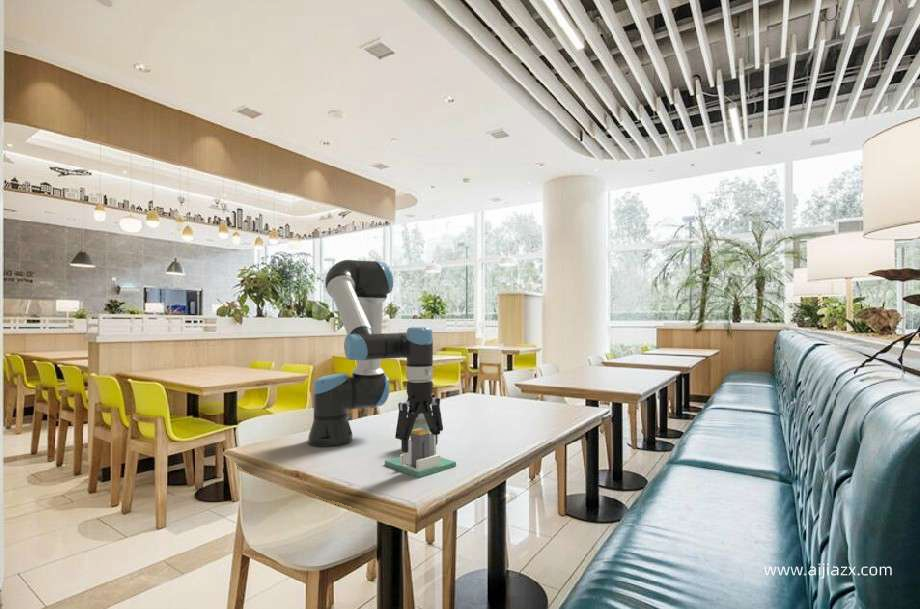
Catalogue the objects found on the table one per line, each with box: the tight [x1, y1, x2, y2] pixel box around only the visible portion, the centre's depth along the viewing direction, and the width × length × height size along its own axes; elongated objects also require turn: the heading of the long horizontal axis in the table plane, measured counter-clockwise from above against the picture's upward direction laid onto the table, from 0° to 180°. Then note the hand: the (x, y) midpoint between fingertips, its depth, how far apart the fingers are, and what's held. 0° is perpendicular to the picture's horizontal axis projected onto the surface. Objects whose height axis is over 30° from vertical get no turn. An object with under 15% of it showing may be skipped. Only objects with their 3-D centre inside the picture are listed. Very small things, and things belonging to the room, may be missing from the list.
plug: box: [410, 428, 429, 467], centre depth 133 cm, size 5×4×10 cm
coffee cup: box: [409, 413, 431, 440], centre depth 158 cm, size 8×8×12 cm
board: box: [384, 453, 457, 478], centre depth 137 cm, size 16×14×4 cm
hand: (420, 460), depth 134 cm, fingers open, 8 cm apart
